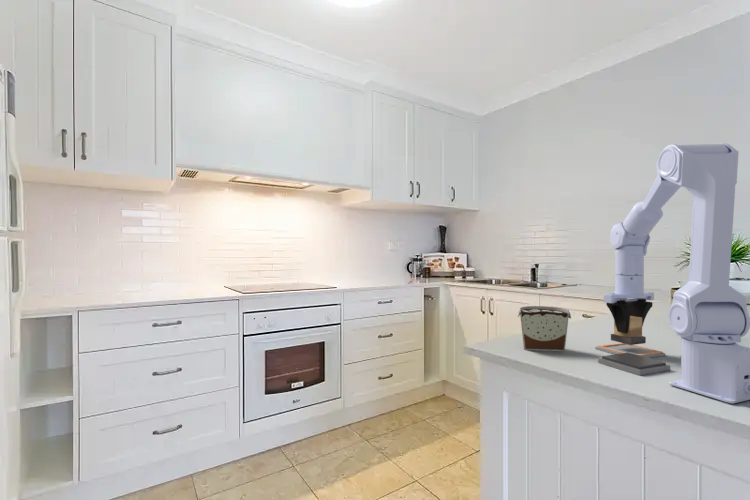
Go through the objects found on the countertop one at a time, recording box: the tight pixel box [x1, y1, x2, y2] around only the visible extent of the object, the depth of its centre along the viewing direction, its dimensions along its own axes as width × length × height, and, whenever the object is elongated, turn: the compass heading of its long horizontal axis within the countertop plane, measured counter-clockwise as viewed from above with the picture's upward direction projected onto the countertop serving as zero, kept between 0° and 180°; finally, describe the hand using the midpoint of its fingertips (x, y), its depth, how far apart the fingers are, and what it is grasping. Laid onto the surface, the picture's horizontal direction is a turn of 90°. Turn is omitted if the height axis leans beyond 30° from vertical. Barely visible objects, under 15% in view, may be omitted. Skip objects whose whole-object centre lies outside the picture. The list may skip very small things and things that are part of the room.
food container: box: [517, 305, 572, 352], centre depth 96 cm, size 12×6×10 cm, turn 82°
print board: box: [594, 342, 666, 359], centre depth 91 cm, size 10×10×1 cm
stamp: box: [610, 316, 647, 345], centre depth 92 cm, size 5×5×6 cm
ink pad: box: [597, 353, 671, 376], centre depth 80 cm, size 9×9×2 cm
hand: (629, 331), depth 91 cm, fingers closed on stamp, 4 cm apart
